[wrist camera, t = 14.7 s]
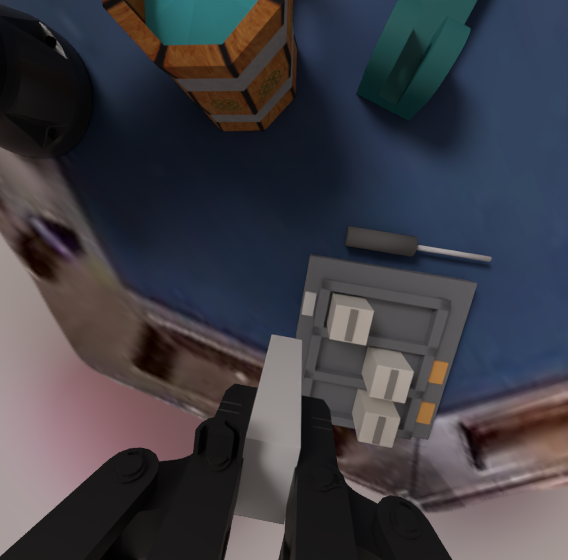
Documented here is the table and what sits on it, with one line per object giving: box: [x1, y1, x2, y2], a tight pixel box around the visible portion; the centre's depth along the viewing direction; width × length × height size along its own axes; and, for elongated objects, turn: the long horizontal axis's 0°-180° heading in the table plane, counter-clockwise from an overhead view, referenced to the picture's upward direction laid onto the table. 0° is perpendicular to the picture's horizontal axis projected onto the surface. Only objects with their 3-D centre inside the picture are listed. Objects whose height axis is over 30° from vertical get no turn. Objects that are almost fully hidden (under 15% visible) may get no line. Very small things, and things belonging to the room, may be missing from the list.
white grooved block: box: [361, 345, 414, 403], centre depth 34 cm, size 4×4×5 cm
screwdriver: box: [345, 226, 492, 262], centre depth 34 cm, size 17×2×2 cm, turn 81°
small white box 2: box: [352, 388, 400, 448], centre depth 35 cm, size 4×4×5 cm
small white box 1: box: [327, 293, 374, 346], centre depth 33 cm, size 4×4×5 cm
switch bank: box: [295, 254, 477, 440], centre depth 37 cm, size 20×22×3 cm
